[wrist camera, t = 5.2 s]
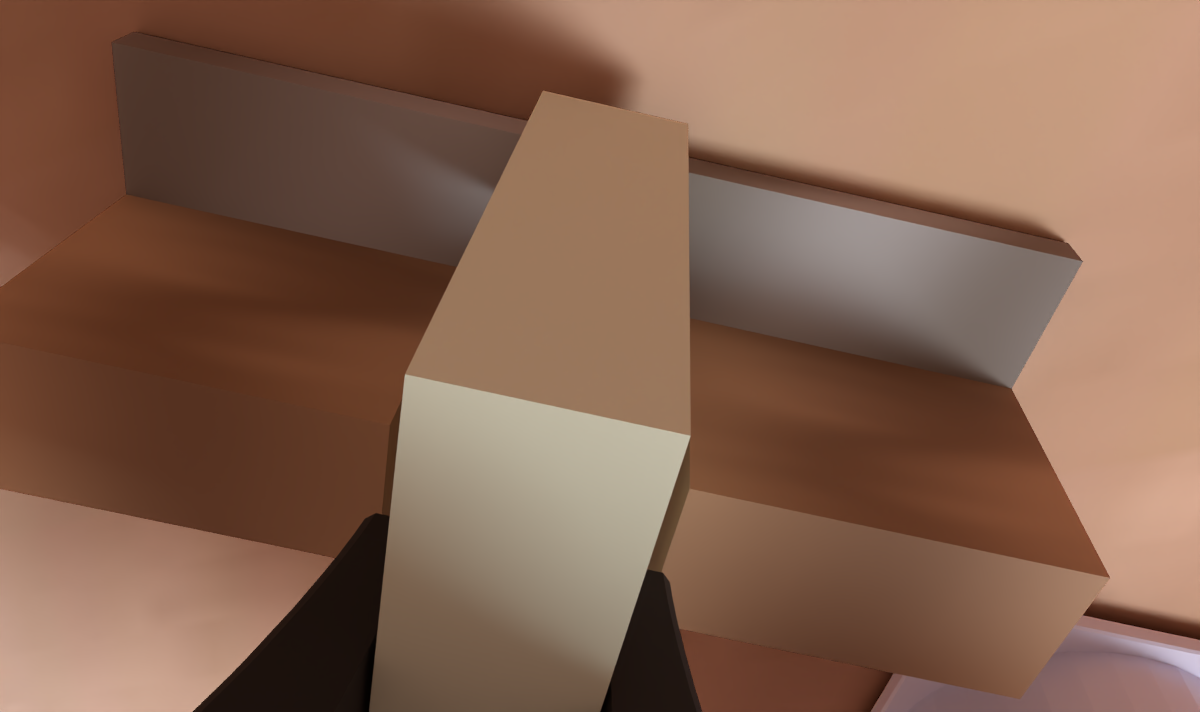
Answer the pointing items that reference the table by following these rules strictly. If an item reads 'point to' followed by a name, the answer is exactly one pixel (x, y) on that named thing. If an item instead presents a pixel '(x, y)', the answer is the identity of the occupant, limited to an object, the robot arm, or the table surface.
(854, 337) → the slotted base
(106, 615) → the table surface
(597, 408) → the cream h-shaped block
